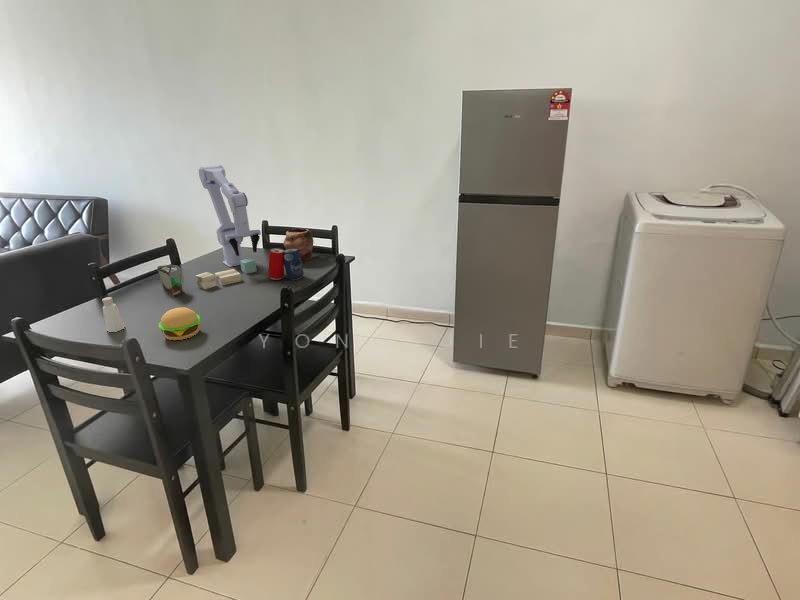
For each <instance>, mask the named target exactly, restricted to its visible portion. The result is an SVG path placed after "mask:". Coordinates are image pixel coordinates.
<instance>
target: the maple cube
mask: <svg viewBox="0 0 800 600" xmlns="http://www.w3.org/2000/svg"><path fill="white" fill-rule="evenodd" d="M195 278H196V283H197V288H199V289H202V290H208V289H210V288H213V287H216V286H217V283H216V282H217V281H216V278H215V273H214V274H213V273H212V272H209V271H205V272H202V273H200V274H195Z"/></svg>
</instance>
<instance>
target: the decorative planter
mask: <svg viewBox="0 0 800 600" xmlns="http://www.w3.org/2000/svg"><path fill="white" fill-rule="evenodd" d="M282 243H283V246H284V248H285V249H289V248H297V249H298V251H299V252H300V257H301V262H302V263H303V262H307V261H310V260H311V259H312V255H313V248H314V247H313V246H314V237H313V233H312V231H311V230H309V229H308V228H291V229H288V230H287V231H286V232H285V238H284V240H283V241H282Z"/></svg>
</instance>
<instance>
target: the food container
mask: <svg viewBox="0 0 800 600" xmlns="http://www.w3.org/2000/svg"><path fill="white" fill-rule="evenodd" d="M157 272H158V275H159V278H160V282H161V285H162V286H161V287H162V288H163V292H165V293H166V292H167V293H166V294H168V293H169V294H168V295H170V296H171V295H172V296H171V297H173V298H175V297H177V296H180V295H182V293H183V292H184V291H183V284H182V278H181V277H182V276H181V275H182V273H183V272H182V269H181V268H180V266H178V265H175V264H164V265H158V266H157Z"/></svg>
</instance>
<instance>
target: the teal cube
mask: <svg viewBox="0 0 800 600" xmlns="http://www.w3.org/2000/svg"><path fill="white" fill-rule="evenodd" d="M256 264H257V263H256V260H255V259H253V258H252V257H251V258H250V257H249V258H245V259H243V260H240V265H239V266H240V269H241V270H240V271H241V272H242V273H244V274H245V275H247V274H251V273H255V272H257V271H258V269H257V265H256Z"/></svg>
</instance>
